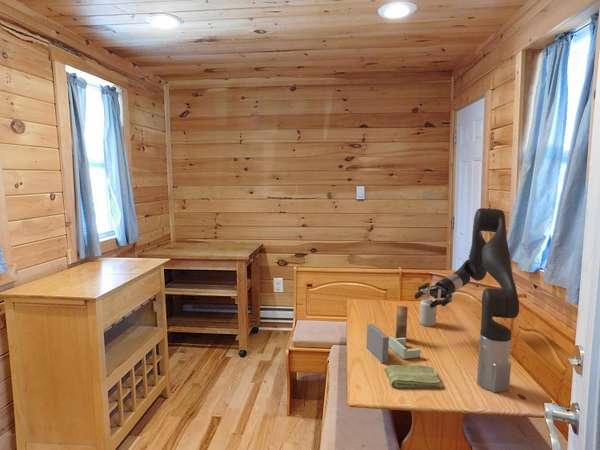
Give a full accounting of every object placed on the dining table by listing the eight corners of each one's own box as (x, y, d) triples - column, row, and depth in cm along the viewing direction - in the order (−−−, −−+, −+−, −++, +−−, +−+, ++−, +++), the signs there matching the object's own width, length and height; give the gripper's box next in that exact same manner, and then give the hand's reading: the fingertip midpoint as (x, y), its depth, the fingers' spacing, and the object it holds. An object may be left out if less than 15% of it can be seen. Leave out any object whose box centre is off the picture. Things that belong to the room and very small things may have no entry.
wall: (387, 362, 155) (388, 337, 153) (381, 363, 154) (383, 337, 153) (371, 347, 168) (372, 323, 167) (366, 348, 167) (367, 324, 166)
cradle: (420, 357, 159) (420, 347, 159) (403, 358, 157) (403, 349, 157) (404, 344, 171) (405, 335, 170) (388, 346, 169) (389, 336, 168)
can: (436, 327, 190) (438, 302, 189) (419, 326, 192) (421, 301, 190) (434, 322, 198) (436, 297, 196) (418, 320, 199) (419, 296, 198)
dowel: (408, 340, 175) (409, 308, 173) (398, 341, 174) (400, 309, 172) (402, 336, 179) (404, 305, 178) (393, 337, 178) (395, 306, 177)
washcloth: (444, 390, 136) (445, 381, 136) (391, 390, 136) (391, 381, 136) (431, 371, 149) (431, 362, 149) (382, 371, 149) (383, 362, 149)
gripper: (436, 271, 185) (409, 287, 178) (462, 284, 173) (435, 301, 167) (436, 285, 188) (410, 301, 181) (462, 299, 177) (436, 316, 170)
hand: (422, 301), depth 174 cm, fingers open, 8 cm apart
